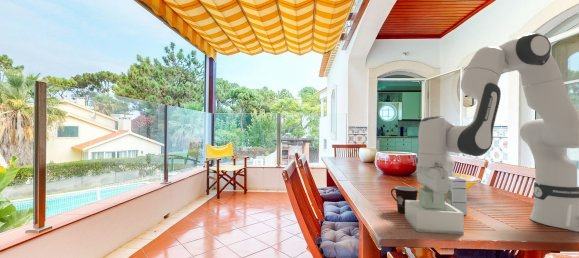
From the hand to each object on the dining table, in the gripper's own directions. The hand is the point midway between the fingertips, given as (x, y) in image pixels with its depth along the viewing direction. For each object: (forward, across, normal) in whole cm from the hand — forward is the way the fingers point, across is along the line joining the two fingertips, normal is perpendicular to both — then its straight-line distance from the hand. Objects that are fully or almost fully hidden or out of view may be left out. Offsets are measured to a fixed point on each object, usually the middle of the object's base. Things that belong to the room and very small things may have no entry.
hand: (431, 200), depth 96 cm
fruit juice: (+9, +29, -15) cm, 34 cm away
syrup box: (+9, +18, -16) cm, 26 cm away
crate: (+9, 0, 0) cm, 9 cm away
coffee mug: (+9, +16, +5) cm, 19 cm away
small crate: (+3, 0, 0) cm, 3 cm away
